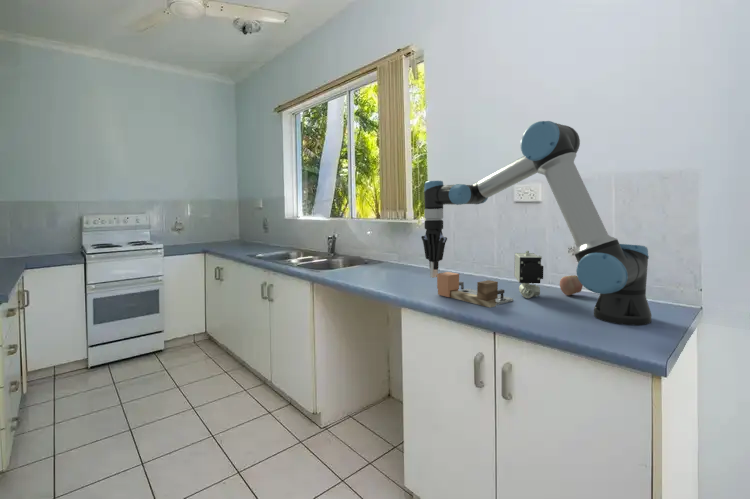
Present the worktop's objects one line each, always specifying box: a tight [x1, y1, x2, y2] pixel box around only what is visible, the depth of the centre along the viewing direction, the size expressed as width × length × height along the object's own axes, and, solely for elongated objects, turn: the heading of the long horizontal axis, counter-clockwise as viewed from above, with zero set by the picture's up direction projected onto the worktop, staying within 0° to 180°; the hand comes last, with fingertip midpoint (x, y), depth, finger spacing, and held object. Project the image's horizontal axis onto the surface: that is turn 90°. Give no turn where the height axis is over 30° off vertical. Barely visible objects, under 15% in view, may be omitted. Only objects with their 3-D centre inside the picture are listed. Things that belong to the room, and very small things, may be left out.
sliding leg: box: [436, 271, 465, 298], centre depth 158 cm, size 6×12×8 cm, turn 124°
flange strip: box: [458, 288, 514, 306], centre depth 153 cm, size 22×9×1 cm, turn 34°
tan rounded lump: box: [559, 274, 584, 297], centre depth 153 cm, size 8×8×8 cm
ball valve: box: [513, 250, 544, 299], centre depth 152 cm, size 18×8×18 cm, turn 168°
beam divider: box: [449, 279, 505, 308], centre depth 150 cm, size 25×12×8 cm, turn 34°
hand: (434, 277), depth 163 cm, fingers closed
